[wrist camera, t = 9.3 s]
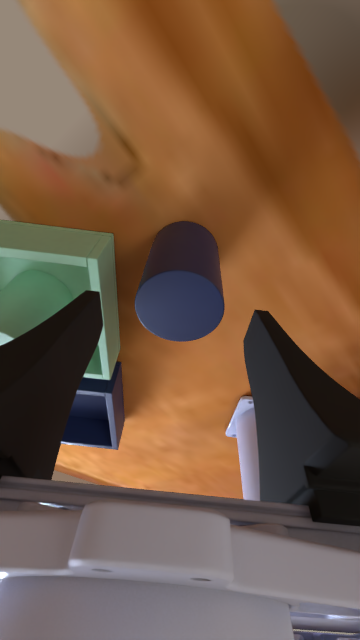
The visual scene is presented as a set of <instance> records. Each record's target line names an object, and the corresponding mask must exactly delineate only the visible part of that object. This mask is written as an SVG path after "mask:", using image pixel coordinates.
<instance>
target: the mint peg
mask: <svg viewBox="0 0 360 640" xmlns="http://www.w3.org/2000/svg"><path fill="white" fill-rule="evenodd" d="M71 301H73V297H72V295H71V293H70V291H69V289H68V288H67V287H66V286H65V284H64V283H62V282H61V281H60V280H59V279H57V278H56V277H54V276H52V275H50V274H48V273H45V272H42V271H37V270H28V271H24V272H21V273H19V274H18V275H17V276H16V277H15V278H14V279H13V280H12V281H11V282H10V283H9V284H8V285H7V286H6V287H5V288H3V289H2V290H1V291H0V346H1V345H3V344H5V343H7V342H9V341H11V340H13V339H15V338H17V337H19V336H20V335H22V334H24V333H26V332H28V331H29V330H31V329H33V328H34V327H36V326H37V325H39V324H40V323H42V322H43V321H45V320H46V319H48V318H49V317H51V316H52V315H54V314H55V313H57V312H58V311H59V310H61V309H62V308H63V307H65V306H66V305H67V304H69V303H70V302H71Z"/></svg>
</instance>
